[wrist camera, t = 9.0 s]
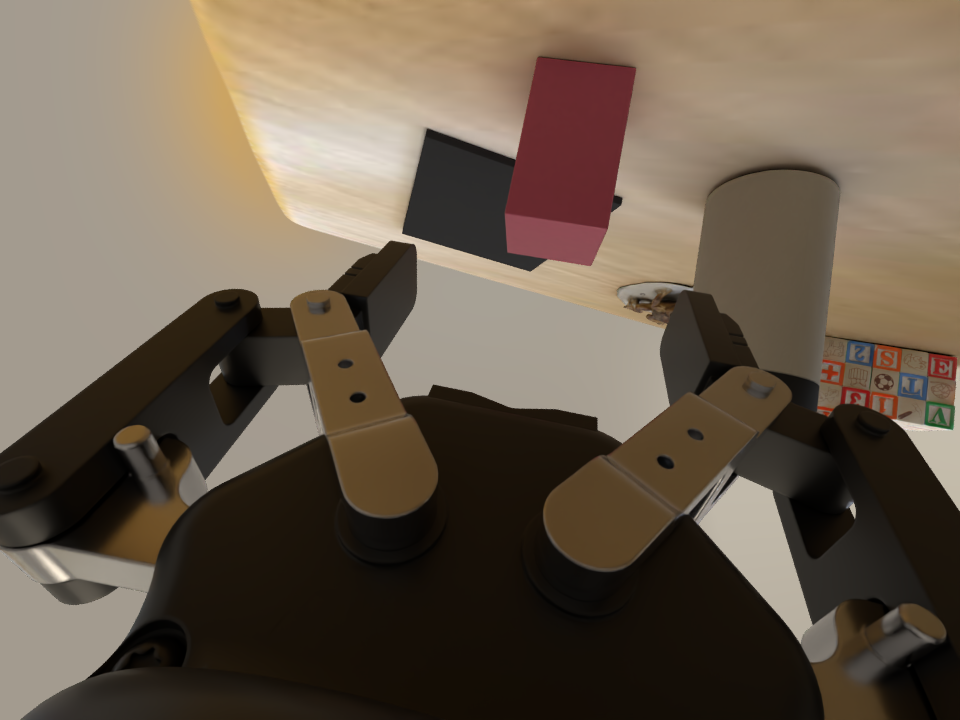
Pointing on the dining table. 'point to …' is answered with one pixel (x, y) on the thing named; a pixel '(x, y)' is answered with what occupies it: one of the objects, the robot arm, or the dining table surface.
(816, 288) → the travel mug
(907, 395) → the stack of blocks
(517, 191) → the block
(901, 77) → the dining table surface
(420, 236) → the mat
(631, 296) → the frog figurine
